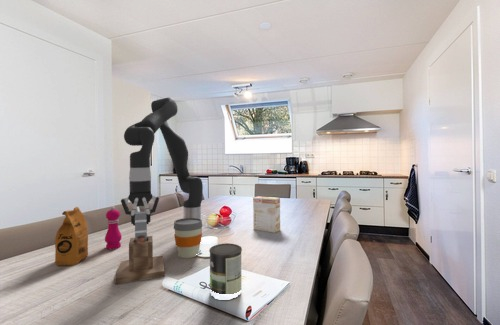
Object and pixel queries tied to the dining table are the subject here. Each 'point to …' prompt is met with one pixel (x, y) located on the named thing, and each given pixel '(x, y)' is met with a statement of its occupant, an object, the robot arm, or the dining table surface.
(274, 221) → the coffeecake box
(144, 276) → the stand
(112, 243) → the pepper mill
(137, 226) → the column
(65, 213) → the coffee package
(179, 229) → the reusable coffee cup
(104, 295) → the dining table surface
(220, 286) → the coffee can
